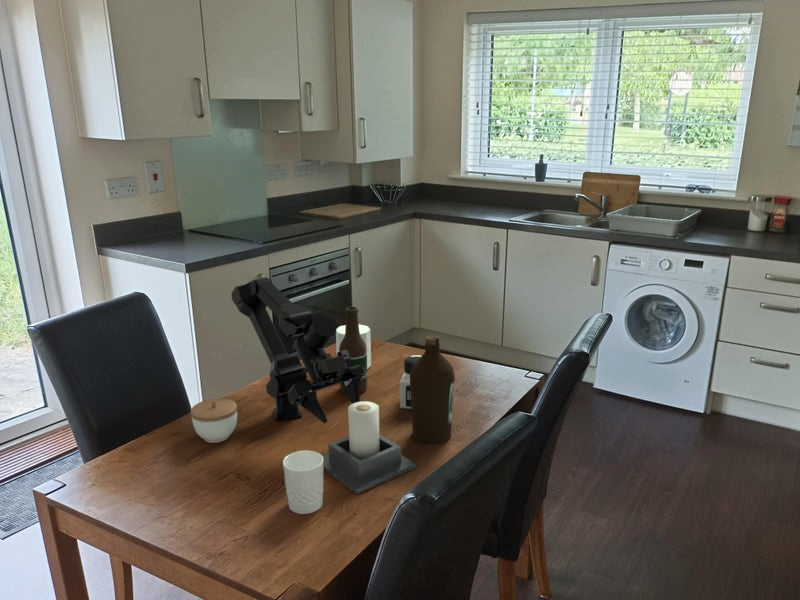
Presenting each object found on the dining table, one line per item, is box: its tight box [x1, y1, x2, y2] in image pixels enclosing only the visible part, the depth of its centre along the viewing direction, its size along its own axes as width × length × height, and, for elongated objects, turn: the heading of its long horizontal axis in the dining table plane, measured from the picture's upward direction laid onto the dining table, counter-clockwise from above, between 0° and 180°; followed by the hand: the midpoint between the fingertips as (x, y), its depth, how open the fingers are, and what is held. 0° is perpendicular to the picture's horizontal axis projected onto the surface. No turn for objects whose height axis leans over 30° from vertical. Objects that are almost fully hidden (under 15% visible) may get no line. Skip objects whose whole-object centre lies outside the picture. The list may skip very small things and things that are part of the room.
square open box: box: [322, 433, 417, 495], centre depth 146 cm, size 16×16×5 cm
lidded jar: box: [190, 397, 238, 444], centre depth 159 cm, size 11×11×9 cm
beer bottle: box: [339, 306, 368, 395], centre depth 183 cm, size 8×8×24 cm
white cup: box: [282, 450, 324, 515], centre depth 131 cm, size 8×8×10 cm
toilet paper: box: [335, 323, 372, 370], centre depth 202 cm, size 10×10×12 cm
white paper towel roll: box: [347, 400, 380, 460], centre depth 145 cm, size 7×7×13 cm
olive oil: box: [410, 335, 456, 445], centre depth 157 cm, size 11×11×25 cm
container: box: [399, 354, 422, 410], centre depth 176 cm, size 8×8×13 cm
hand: (342, 416), depth 150 cm, fingers open, 9 cm apart
